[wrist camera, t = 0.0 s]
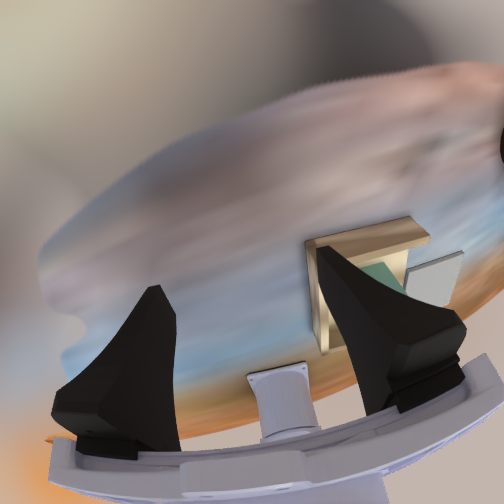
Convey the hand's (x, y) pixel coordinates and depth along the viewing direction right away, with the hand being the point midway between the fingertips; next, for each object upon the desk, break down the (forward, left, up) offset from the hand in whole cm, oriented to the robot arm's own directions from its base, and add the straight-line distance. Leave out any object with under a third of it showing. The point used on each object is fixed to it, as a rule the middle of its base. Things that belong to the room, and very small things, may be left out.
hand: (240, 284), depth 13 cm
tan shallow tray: (-12, -11, -10) cm, 19 cm away
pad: (-17, -21, -10) cm, 29 cm away
